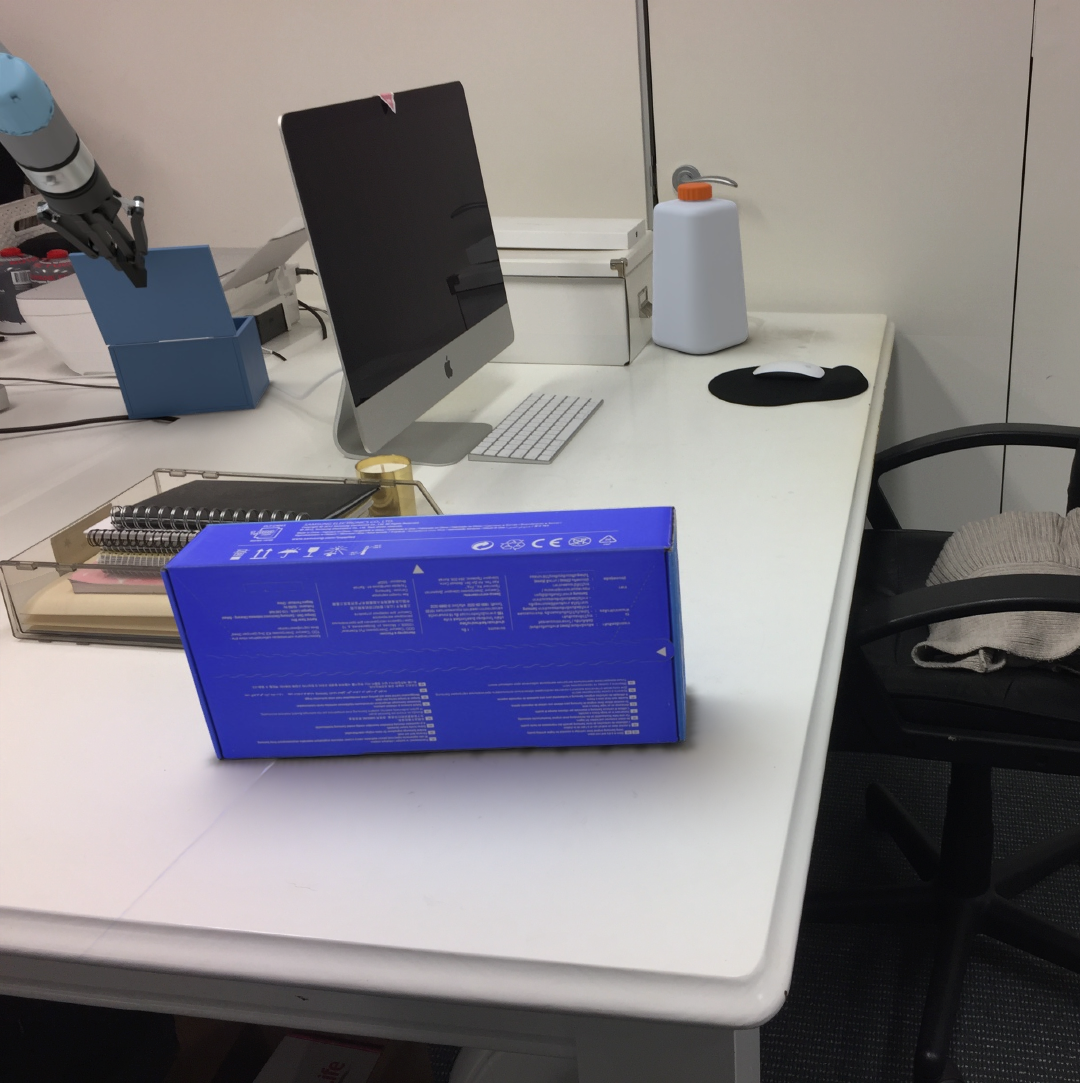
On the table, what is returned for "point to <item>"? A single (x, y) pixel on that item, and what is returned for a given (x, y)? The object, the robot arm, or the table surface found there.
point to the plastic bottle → (697, 273)
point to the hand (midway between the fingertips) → (141, 279)
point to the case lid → (157, 297)
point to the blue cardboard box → (434, 632)
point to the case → (192, 373)
